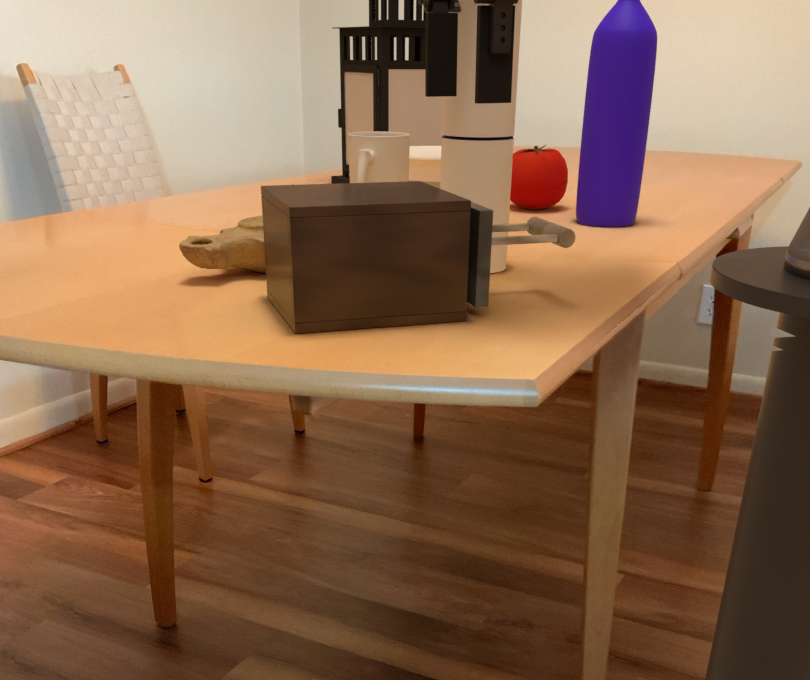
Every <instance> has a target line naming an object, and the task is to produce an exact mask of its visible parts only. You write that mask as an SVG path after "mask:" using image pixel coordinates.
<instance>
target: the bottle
mask: <svg viewBox="0 0 810 680" xmlns="http://www.w3.org/2000/svg"><path fill="white" fill-rule="evenodd" d="M657 52H658V31H657V29H656V26H655V24H654V22H653V20H652V18H651V16H650V14H649V13H648V11H647V10H646V8H645V6H644V5H643V4H642V2H641V0H617V1H616V2H615V3H614V5H612V7H610V9H609V10H608V12H607V13H606V14H605V16H603V18H602V20H601V21H600V22H599V23H598V25H597V27H596V28H595V30H594V32H593V35H592V40H591V46H590V52H589V58H588V59H589V60H588V69H587V77H586V87H585V96H584V105H583V106H584V107H583V117H582V127H581V139H580V151H579V160H578V173H577V174H578V175H577V187H576V201H575V220H576V221H577V223H578V224H580V225H585V226H591V227H602V228H622V227H623V228H624V227H630V226H632V225H634V223H635V222H636V220H637V219H636V218H637V215H638V209H639V203H640V196H641V189H642V181H643V173H644V167H645V159H646V150H647V143H648V135H649V127H650V118H651V111H652V110H651V109H652V102H653V93H654V85H655V84H654V83H655V74H656V65H657V64H656V63H657Z"/></svg>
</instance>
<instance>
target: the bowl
mask: <svg viewBox="0 0 810 680" xmlns="http://www.w3.org/2000/svg"><path fill="white" fill-rule="evenodd" d="M440 178H441V146H410V154H409V181H421V182H424V183H426V184H429V185H432V186H434V187H437V188H439V189H440Z"/></svg>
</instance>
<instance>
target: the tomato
mask: <svg viewBox="0 0 810 680" xmlns="http://www.w3.org/2000/svg"><path fill="white" fill-rule="evenodd" d="M546 146H547V144H544V145H543V146H541V147H539V146H538V145H534V146H533V148H522V149H518V150H516V151H515V152H513V161H512V177H511V194H510V203H512V204H514V205H515V206H517V207H519V208H522V209H529V210H531V209H533V210H534V209H549V208H552V207H554V206H555V205H557V204H558V203H560V202H561V200H562V199H563V198H564V196H565V194H566V192H567V187H568V182H569V169H568V165H567V161H566V159H565V157H564V156H563V155H562V154H561V152H560V150H557V149H555V148H545V147H546Z"/></svg>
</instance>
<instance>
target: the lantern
mask: <svg viewBox="0 0 810 680" xmlns="http://www.w3.org/2000/svg"><path fill="white" fill-rule="evenodd" d="M379 1H380V3H379ZM399 3H400V0H368V26H367V25H364V26H341V27H340V26H339V27H337V26H336V27H333V29H335V30H336V29H339V35H338V36H339V75H340V77H339V78H340V79H339V81H340V108H338V109H337V127H338V128H339V129H341V131H340V132H341V171H342V172H341V173H342V174H339V175H330V182H331V183H330V184H339V183H350V174H349V141H348V134H349V133H353V132H373V131H379V132H401V133H408V134H410V146H441V141H442V136H444V135H442V102H443V97H426V96H425V60H426V13H429V12H425V11H424V7H423V5H419V3H418V0H403V19H400V17H399V16H400V15H399V11H400V9H399V8H400V6H399V5H400V4H399ZM379 5H380V6H379ZM379 7H380V8H379ZM414 10H415V12H414ZM379 11H380V13H379ZM379 14H380V15H379ZM414 14H415V16H414ZM379 16H380V17H379ZM414 17H415V19H414ZM379 18H380V19H379ZM351 37H352V59H351ZM363 38H364V59H363ZM406 38H407V39H408V55H407V56H408V57H407V58H408V59H406ZM395 41H396V42H395ZM395 43H396V45H395ZM395 52H396V53H395ZM395 54H396V55H395Z"/></svg>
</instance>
